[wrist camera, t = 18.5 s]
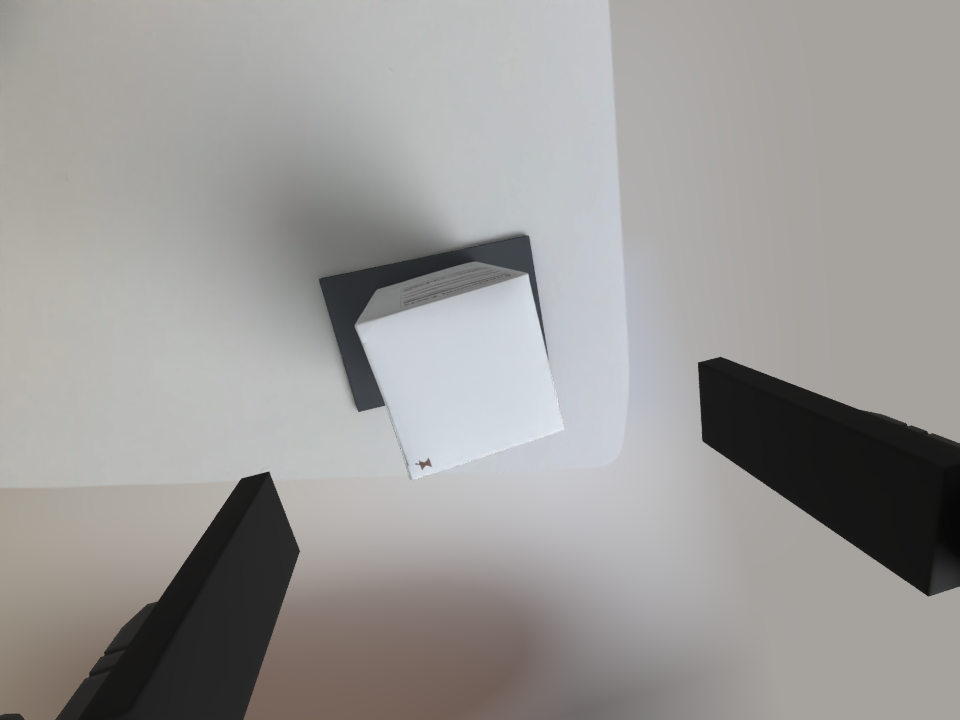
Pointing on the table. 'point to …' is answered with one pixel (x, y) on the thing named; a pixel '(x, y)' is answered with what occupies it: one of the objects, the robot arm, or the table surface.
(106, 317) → the table surface
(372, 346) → the supplement box
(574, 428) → the table surface
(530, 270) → the mat
